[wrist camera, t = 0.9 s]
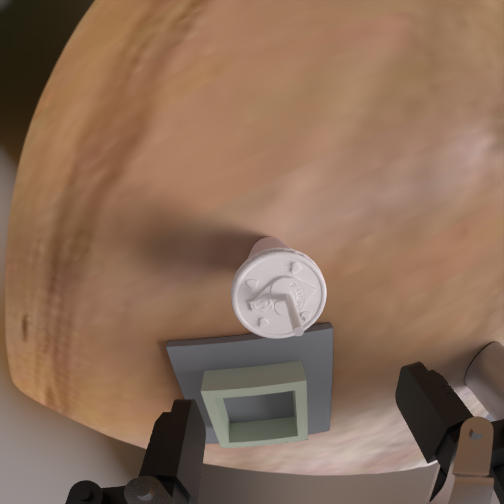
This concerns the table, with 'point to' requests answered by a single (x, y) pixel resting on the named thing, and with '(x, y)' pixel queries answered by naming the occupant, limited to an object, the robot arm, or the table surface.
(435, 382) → the robot arm
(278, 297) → the smoothie
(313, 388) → the stand
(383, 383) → the table surface
